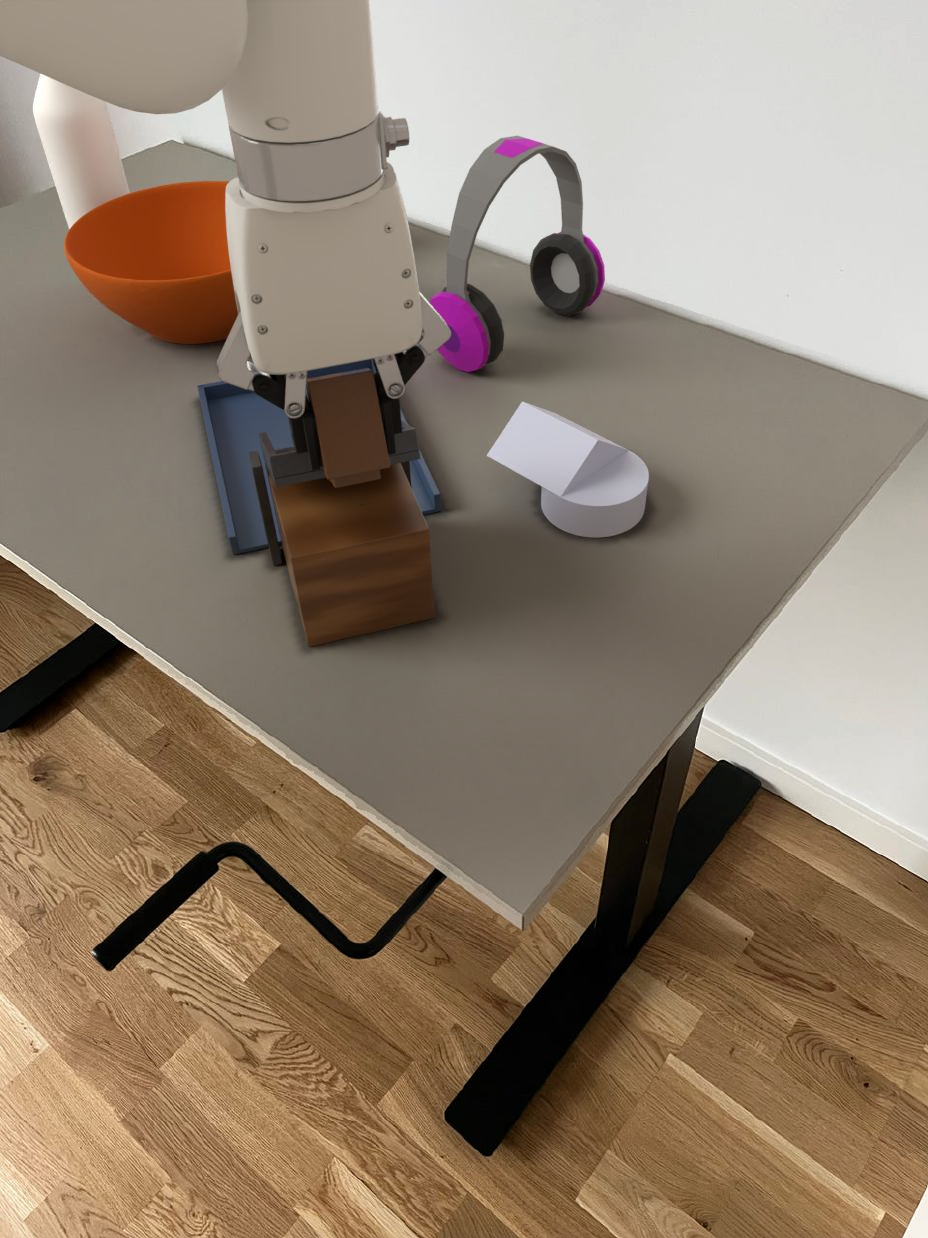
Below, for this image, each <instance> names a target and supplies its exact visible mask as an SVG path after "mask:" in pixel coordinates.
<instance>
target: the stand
mask: <svg viewBox="0 0 928 1238" xmlns="http://www.w3.org/2000/svg"><path fill="white" fill-rule="evenodd" d="M248 456H249V460H250V465H251V469H252V474H253V479H254V483H255V488H256V492H257V497H258V501H259V506H260V510H261V515H262V520H263V524H264V529H265V533H266V538H267V542H268V552H269V555H270V559H271V563H272V566H275V567H276V566H279V565H283V559H282V554H281V549H280V545H279V544H278V539H277V534H276V529H275V525H274V520H273V515H272V510H271V506H270V501H269V496H268V491H267V487H266V482H265V477H264V472H263V467H262V463H261V460H260V456H259V452H258V451H252V452H248ZM265 466H266V471H267V476H268V481H269V486H270V491H271V495H272V500H273V505H274V510H275V515H276V520H277V524H278V529H279V534H280V539H281V544H282V545H281V548H282V552H283V556H284V559H285V563H286V567H287V571H288V575H289V578H290V583H291V586H292V590H293V593H294V594H293V595H294V597H295V601H296V605H297V609H298V612H299V616H300V621H301V623H302V629H303V631H304V636H305V640H306V643H307V646H308V648H310V647H314V646H318V645H323V644H327V643H331V642H335V641H340V640H345V639H348V638H349V639H350V638H353V637H357V636H362V635H366V634H371V633H374V632H379V631H383V630H387V629H392V628H396V627H400V626H404V625H409V624H413V623H417V622H422V621H426V620H430V619H435V617H436V614H435V613H436V612H435V598H434V596H435V595H434V584H433V569H432V568H433V567H432V552H431V551H432V549H431V536H430V528H429V525H428V523H427V521H426V519H425V515H423V514H422V512H421V509H420V507H419V505H418V502H417V500H416V498H415V496H414V493H413V491H412V485H411V472H410V461H407V462H402V463H397V464H392V465H390V467H389V468H385V469H380V476H381V479H378V480H373V481H368V482H363V483H358V484H353V485H348V486H343V487H339V488H335V487H334V485H333V484H332V483H331V481H330V480H328V479H327V478H322V479H317V480H312V481H307V482H302V483H297V484H292V485H287V486H282V487H277V488H276V487H275V485H274V482H273V480H272V477H271V475H270V473H269V470H268V468H267V465H266V463H265Z"/></svg>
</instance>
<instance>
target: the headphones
mask: <svg viewBox="0 0 928 1238" xmlns="http://www.w3.org/2000/svg"><path fill="white" fill-rule="evenodd" d="M539 154H540V155H541V156H542V158H544V159H545V162H547V164H548V166H549V168H550V170H551V171H552V173H553V175H554V176H555V178H556V179H555V180H556V183H557V188H558V193H559V198H560V210H561V211H560V212H561V213H560V214H561V230H560V231H559V232H553V233H551V234H548V235H546V236H544V237H543V238H541V239H540V240H539V242H537V244H536V246H535V247H534V248H533V249H532V254H531V257H530V258H531V259H530V263H529V272H530V281H531V285H532V287H533V289H534V292H535V295H536V296H537V297H538V299H539V300H540V301H541V302H542V304H543V306H545V307H546V308H548V309H549V310H551V311H552V312H553V313H555V314H556V315H560V316H561V315H562V316H567V317H569V316H573V315H576V314H579V313H581V312H583V311H584V309H586V308H589V307H590V306H592V305H593V304H594V303H595V302H596V300H597V299H598V298H599V297H600V295H601V294H602V292H603V288H604V285H605V283H606V273H605V272H606V270H605V264H604V261H603V257H602V254H601V252H600V249H599V248H598V247H597V245H596V244H595V243H594V242H593V240H592V239H591V238H590V237H588V236H587V235H586V234H584V232H583V221H584V219H583V217H584V215H583V213H584V199H583V197H584V196H583V185H582V183H583V181H582V178H581V175H580V172H579V169H578V166H577V165H578V164H577V163H576V162H575V160H574V158H572V157H571V155H570V154H569V153H568V151H566V150H563V149H560V148H558V147H556V146H553V145H550V144H547V143H544V142H540V141H537V140H533V139H531V138H527V137H524V136H520V135H512V136H506V137H500V138H499V139H497V140H496V141H494V142H493V143H491V144H490V145H488V146H486V148H485V149H483V150H482V152H481V153H480V154H479V155H478V157H477V159H476V160H475V161H474V162H473V164H472V165H471V167H470V168H469V169H468V172H467V175H466V177H465V179H464V181H463V182H462V183H463V184H462V186H461V188H460V189H459V192H458V196H457V201H456V205H455V208H454V213H453V218H452V222H451V227H450V231H449V239H448V244H447V249H446V286H444V288H443V289H442V290H441V292H439V293H437V294H434V295H433V296H432V297H431V299H430V301H429V303H430V304H431V305H432V306H433V308H434V309H435V310H436V311H437V312H438V313H439V315H440V316H441V317H442V318H443V319H444V320H445V322H446V324H447V325H448V327H449V329H450V330H451V337H450V339H449V340H448V341H447V342H445V343H444V344H443V345H442V346H441V347H440V348H438V349H437V350H436V351H438V353H439V354H440V355H441V356H442V358H443V359H444V360H445V361H446V363H448V364H450V365H451V366H452V367H454V368H455V369H456V370H459V371H463V372H466V373H471V372H474V371H475V372H476V371H478V370H481V369H483V368H484V366H485V365H487V364H492V363H494V362H495V361H496V360H497V359H498V358H499V357H500V355H501V354H502V352H503V350H504V344H505V343H504V342H505V331H504V326H503V321H502V318H501V316H500V313H499V312H498V310H497V307H496V306H495V304H494V303H493V302H492V301H491V299H490V298H489V297H488V296H487V294H486V293H485V292H483V291H481V290H480V289H479V288H478V287H476V286H475V285H473V284H471V283H468V277H469V276H468V275H469V266H470V265H469V264H470V260H471V255H472V252H473V250H474V249H473V248H474V246H475V242H476V239H477V235H478V233H479V231H480V228H481V226H482V224H483V222H484V220H485V217H486V215H487V213H488V211H489V208H490V206H491V205H492V203H493V202H494V201H495V199H496V197H497V195H498V194H499V192H500V191H501V189H502V187H503V185H504V184H505V183H506V182H507V181H508V180H509V179H510V178H511V176H512V175H513V174H514V173H515V172H516V171H517V170H518V169H519V168H520V166H522V165H523V164H525V163H526V162H528V161H529V160H531V159H532V158H534V157H535V156H537V155H539Z"/></svg>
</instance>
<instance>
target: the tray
mask: <svg viewBox="0 0 928 1238" xmlns="http://www.w3.org/2000/svg"><path fill="white" fill-rule="evenodd" d="M364 368H368V369H371V370H373V372H374V374H375V373H376V371H375V368H374V365H373V362H372V359H369V360H363V361H358V362H353V363H347V364H342V365H337V366H331V367H326V368H320V369H315V370H309V371H307V379H309V378H314V377H320V376H325V375H331V374H337V373H342V372H348V371H353V370H359V369H364ZM196 387H197V391H198V397H199V401H200V406H201V412H202V416H203V421H204V426H205V431H206V435H207V439H208V440H207V441H208V444H209V445H208V446H209V450H210V454H211V459H212V464H213V469H214V470H213V471H214V474H215V480H216V485H217V489H218V493H219V498H220V503H221V508H222V513H223V518H224V522H225V527H226V532H227V537H228V541H229V544H230V548H231V553H232V555H238V554H243V553H249V552H253V551H258V550H262V549H267V548H268V549H269V547H268V542H267V538H266V533H265V529H264V524H263V520H262V515H261V510H260V506H259V501H258V497H257V492H256V488H255V483H254V479H253V474H252V469H251V465H250V460H249V456H248V452H252V451H258V452H259V456H260V460H261V463H262V467H263V472H264V477H265V482H266V487H267V491H268V496H269V501H270V506H271V510H272V515H273V520H274V525H275V529H276V534H277V539H278V544H279V546H282V544H281V539H280V534H279V529H278V524H277V520H276V515H275V510H274V505H273V500H272V495H271V491H270V486H269V481H268V476H267V471H266V466H265V461H264V457H263V452H262V448H261V443H260V439H259V433H263V432H266V433H267V435H268V437H269V439H270V441H271V443H272V445H273V447H274V449H275V450H278V449H284V448H289V447H294V445H293V441H292V436H291V430H290V425H289V419H288V416H287V415H286V413H285V411H284V410H282V409H281V408H279V407H277V406H276V405H274V404H272V403H270V402H269V401H267V400H265V399H263V398H262V397H260V396H258V395H257V394H256V393H255V392H254V391H252V390H249V389H248V390H246V389H243V388H240V387H237V386H235V385H232V384H229V383H226V382H224V381H222V380H219V381H215V382H210V383H209V382H208V383H204V384H198V385H196ZM306 395H307V397H308V394H307V389H306ZM308 400H309V399H308ZM400 412H401V420H402V421H403V422H405V423H407V424H408V422H407V421H408V420H407V419H406V417H405V415H404V413H403V410H402V409H401V408H400ZM419 452H420V459H417V460H412V461H410V472H411V485H412V491H413V493H414V496H415V498H416V500H417V502H418V505H419V507H420V509H421V512H422V514H423V516H425V515H428V514H434V513H437V512H441V511H442V502H441V501H442V499H441V492H440V490H439V488H438V486H437V484H436V481H435V479H434V477H433V475H432V473H431V470H430V468H429V467H428V464H427V462H426V460H425V457H424V456H423V453H422V451H421V448H419Z"/></svg>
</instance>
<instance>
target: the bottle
mask: <svg viewBox="0 0 928 1238" xmlns="http://www.w3.org/2000/svg"><path fill="white" fill-rule="evenodd" d="M106 103H107V102H106V101H103V100H100V99H98V98H95V97H93V96H91V95H88V94H86V93H84V92H81V91H79V90H77V89H74V88H72V87H70V86H68V85H65V84H63V83H61V82H59V81H56V80H54V79H52V78H50V77H47V76H45V75H43V74H41V73H39V78H38V81H37V85H36V89H35V93H34V98H33V102H32V112H33V113H32V114H33V118H34V121H35V122H34V123H35V125H36V129H37V132H38V135H39V138H40V141H41V145H42V147H43V151H44V155H45V157H46V160H47V164H48V167H49V170H50V173H51V177H52V179H53V183H54V186H55V189H56V193H57V195H58V198H59V201H60V205H61V209H62V211H63V215H64V218H65V222H66V224H67V227H68V230H69V229H70V228H71V227H72V225H73V224H74V223H75V222H76V221H77V220H78V219H79V218H81V217H82V216H83V215H85V214H86V213H88V212H89V211H91V210H92V209H94V208H96V207H97V206H100V205H102V204H104V203H106V202H108V201H110V200H113V199H115V198H118V197H121V196H123V195H126V194H129V193H131V192H130V188H129V184H128V180H127V176H126V173H125V169H124V165H123V162H122V158H121V154H120V150H119V146H118V142H117V139H116V135H115V132H114V131H115V130H114V127H113V123H112V120H111V116H110V112H109V109H108V106H107V104H106Z"/></svg>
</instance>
